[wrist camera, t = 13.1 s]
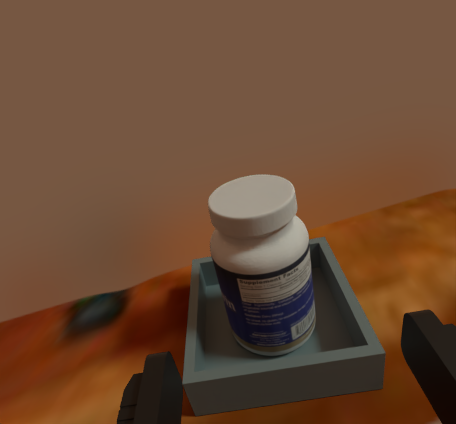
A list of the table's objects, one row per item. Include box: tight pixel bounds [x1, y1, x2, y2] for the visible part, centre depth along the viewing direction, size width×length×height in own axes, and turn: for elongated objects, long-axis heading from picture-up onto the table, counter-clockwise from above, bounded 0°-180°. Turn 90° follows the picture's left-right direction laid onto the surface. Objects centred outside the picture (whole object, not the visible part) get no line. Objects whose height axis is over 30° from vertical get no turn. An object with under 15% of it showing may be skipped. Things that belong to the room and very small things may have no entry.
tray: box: [182, 237, 385, 416], centre depth 22 cm, size 10×10×3 cm
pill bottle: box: [208, 175, 316, 356], centre depth 20 cm, size 6×6×10 cm
